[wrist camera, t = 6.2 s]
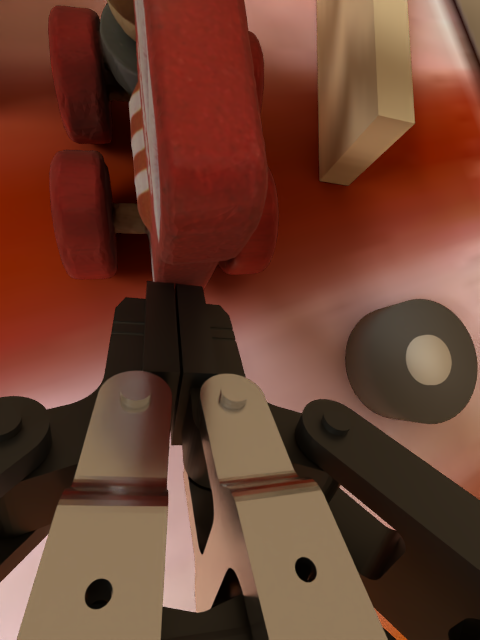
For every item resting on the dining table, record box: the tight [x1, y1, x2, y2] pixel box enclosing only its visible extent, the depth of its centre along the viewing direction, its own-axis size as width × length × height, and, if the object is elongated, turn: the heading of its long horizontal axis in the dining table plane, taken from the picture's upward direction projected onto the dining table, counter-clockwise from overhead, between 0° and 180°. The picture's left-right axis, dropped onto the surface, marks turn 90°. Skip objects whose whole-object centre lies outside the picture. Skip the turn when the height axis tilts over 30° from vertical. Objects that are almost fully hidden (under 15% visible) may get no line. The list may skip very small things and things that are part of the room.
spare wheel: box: [345, 299, 477, 424], centre depth 16 cm, size 5×5×2 cm
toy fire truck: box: [48, 0, 279, 291], centre depth 10 cm, size 7×12×10 cm, turn 6°
